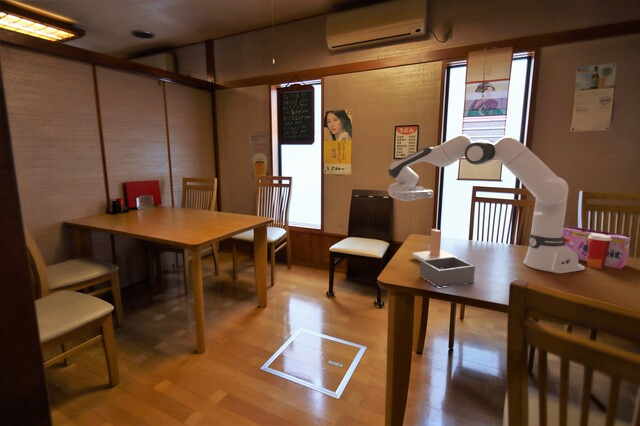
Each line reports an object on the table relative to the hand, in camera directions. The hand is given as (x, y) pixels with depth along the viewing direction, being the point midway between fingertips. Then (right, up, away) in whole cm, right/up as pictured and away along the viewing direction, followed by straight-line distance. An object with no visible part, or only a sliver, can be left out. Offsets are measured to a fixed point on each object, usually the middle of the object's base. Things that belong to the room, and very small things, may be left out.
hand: (422, 196), depth 153 cm
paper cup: (+71, -32, -16) cm, 79 cm away
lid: (+4, -31, -6) cm, 32 cm away
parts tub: (0, -35, -28) cm, 45 cm away
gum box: (+75, -30, -8) cm, 82 cm away
